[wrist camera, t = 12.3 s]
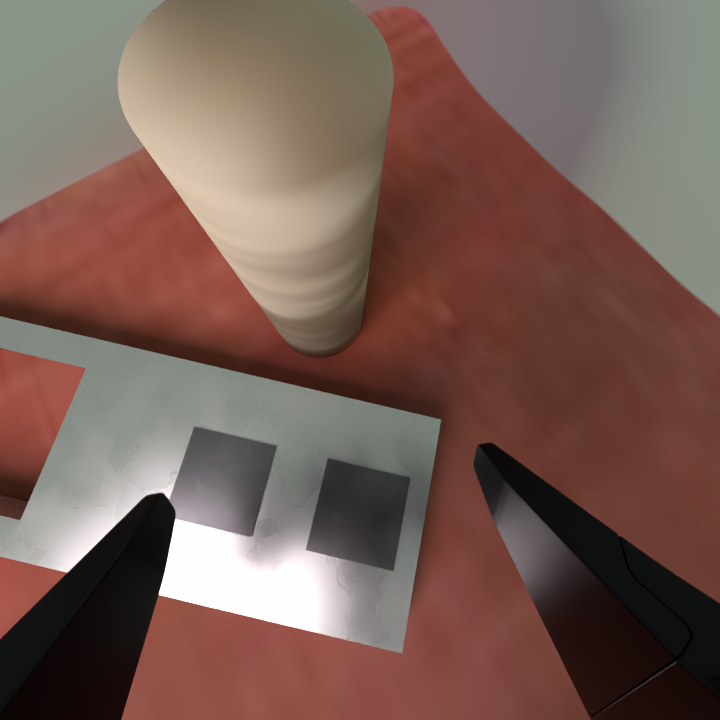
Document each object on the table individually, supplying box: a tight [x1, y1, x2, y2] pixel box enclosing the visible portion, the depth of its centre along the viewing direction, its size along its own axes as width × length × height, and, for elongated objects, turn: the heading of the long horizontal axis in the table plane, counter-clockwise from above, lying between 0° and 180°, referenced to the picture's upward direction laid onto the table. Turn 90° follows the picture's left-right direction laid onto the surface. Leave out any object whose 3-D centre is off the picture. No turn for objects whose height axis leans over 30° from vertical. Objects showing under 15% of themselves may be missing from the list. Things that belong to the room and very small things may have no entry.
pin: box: [118, 0, 394, 358], centre depth 12 cm, size 5×5×13 cm
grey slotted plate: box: [0, 316, 441, 653], centre depth 15 cm, size 10×26×2 cm, turn 77°
